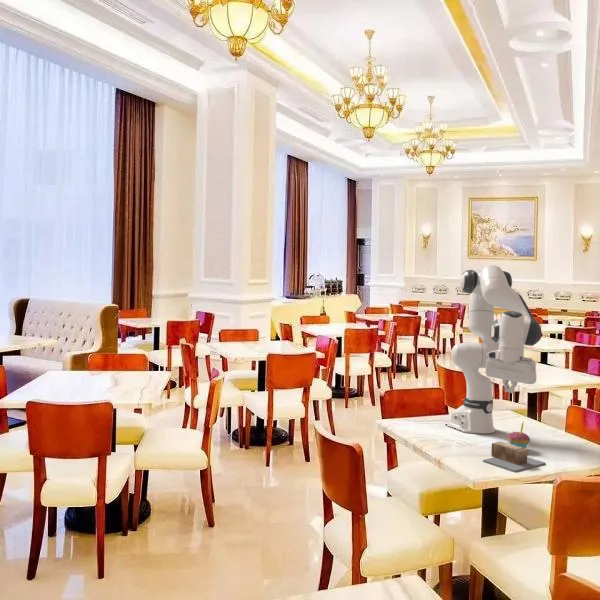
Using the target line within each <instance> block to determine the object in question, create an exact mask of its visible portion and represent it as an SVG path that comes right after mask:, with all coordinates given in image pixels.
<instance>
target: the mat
mask: <svg viewBox="0 0 600 600" xmlns="http://www.w3.org/2000/svg"><path fill="white" fill-rule="evenodd" d="M482 462H483V463H486V464H489V465H493V466H496V467H498V468H501V469H504V470H506V471H507V470H508V471H509V472H514V473H517V472H521V470H522V471H525V469H526V470H529V469H532V467H533V468H535V467H536V466H537V467H541V466H544V465H543V464H545V465H546V463H547V462H544V461H541V460H539V459H538V460H537V459H535V458H533V457H528V456H527V463H525V464H521V465H516V464H513V463H510V462H507V461H504V460H501V459H498V458H495V457H491V458H485V459H482ZM540 465H541V466H540Z"/></svg>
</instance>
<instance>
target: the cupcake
mask: <svg viewBox="0 0 600 600" xmlns="http://www.w3.org/2000/svg"><path fill="white" fill-rule="evenodd" d="M524 424H525V423H524V420H523V421H522V422H521V425H520V431H512V432H510V433H509V434H508V435H507V437H506V438H507V439H506V440H507V441H508V442H509V444H512V445H515V446H518V447H522V448H524V449H527V447H528V444H529V443H530V441H531V439H530V436H528V434H527V433H525V432H523V428H524Z"/></svg>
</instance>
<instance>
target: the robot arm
mask: <svg viewBox="0 0 600 600" xmlns="http://www.w3.org/2000/svg"><path fill="white" fill-rule="evenodd" d="M459 283H460V288H461V290H462V292H464V293H466V294H470V297H469V302H468V317H467V318H468V322H467V323H468V326H467V328H468V329H469V331H470V332H471V333H472V334H473V335H475V336H477V337H479V338H480V339H481V341H482V342H462V343H461V342H460V343H456V344H455V345H453V347H452V348H451V351H450V358H451V361H452V363H453V364H454V365H455V366H456V367H458V369H460V370H461V372H462V373H463V375H464V378H465V382H466V383H465V384H466V396H465V397H463V398H461V402H463V403H462V405H460V406H459V407H458V408H456V409H454V410H453V411H452V412H451V414H450V418H449V420H448V421H445V423H444V425H445V424H447V425H449V426H451V427H450V428H452V427H453V429H454V428H456V429H455V430H457V429H458V430H457V431H459V430H461V431H460V432H462V431H463V433H465V434H466V433H468V434H469V433H470V434H471V433H473V434H485V435H486V434H492V433H495V432H496V430H495V426H494V420H493V409H494V399H493V387H494V386H493V381H492V380H491V379H490V378H494V379H500V380H502V384H503V386H504V392H505V393H510V394H514V393H515V388H516V387H517V386H518V383H519V384H520V383H521V384H525V385H534V384H535V383H536V382H537V370H536V369H537V368H536V367H537V363H536V362H535V360H534V359H533V358H531V357H525V346H530V347H533V346H535V345H536V344H538V343H539V342H540V340H541V339H542V336H543V335H542V327H541V324H539V322H538V321H537V320H536V319H535V317H534V315H533V314H532V311H531V310H530V308H529V307H528V304H527V303H526V301H525V299H524V298H523V297H522V295H521V294H520V293H518V292H517V291H515V290H514V289H513V288H512V287H513V278H512V275H511V273H510V272H507V271H505V270H502V268H501V267H500V266H498V265H494V264H491V265H490V264H489V265H485V267H484V268H483V269H476V270H473V269H467V270H464V271H463V272H462V274H461V277H460V280H459ZM495 307H496V308H500V309H505V310H508V311H504V312H502V313H501V315H500V318H499V319H498V318H497V319H495ZM479 369H485V375H486V376H485V375H484V374H482V373H480V370H479ZM509 383H510V384H511V385H510V384H509ZM447 425H446V426H447ZM449 426H448V427H449Z"/></svg>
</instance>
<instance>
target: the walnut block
mask: <svg viewBox="0 0 600 600" xmlns="http://www.w3.org/2000/svg"><path fill="white" fill-rule="evenodd" d="M528 451H529V450H528V449H527V448H526V449H524V448H522V447H518V446H515V445H512V444H511V443H508V442H504V441H498V442H497V441H496V442H492V443H491V458H493V457H495V458H498V459H501V460H504V461H507V462H510V463H513V464H516V465H521V464H525V463H527V457H528Z"/></svg>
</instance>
